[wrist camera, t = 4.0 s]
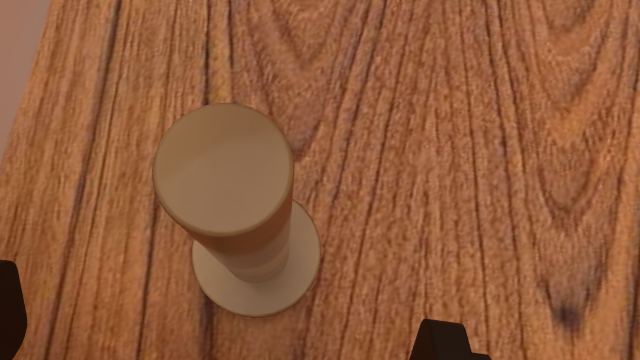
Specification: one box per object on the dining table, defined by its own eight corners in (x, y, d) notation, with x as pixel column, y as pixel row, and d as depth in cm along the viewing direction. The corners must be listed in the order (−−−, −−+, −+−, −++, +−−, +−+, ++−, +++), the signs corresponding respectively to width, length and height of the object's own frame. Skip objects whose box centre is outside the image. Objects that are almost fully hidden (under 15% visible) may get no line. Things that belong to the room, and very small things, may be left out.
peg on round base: (186, 302, 19) (33, 275, 7) (218, 189, 20) (128, 13, 9) (303, 329, 19) (332, 342, 7) (328, 214, 20) (386, 72, 9)
